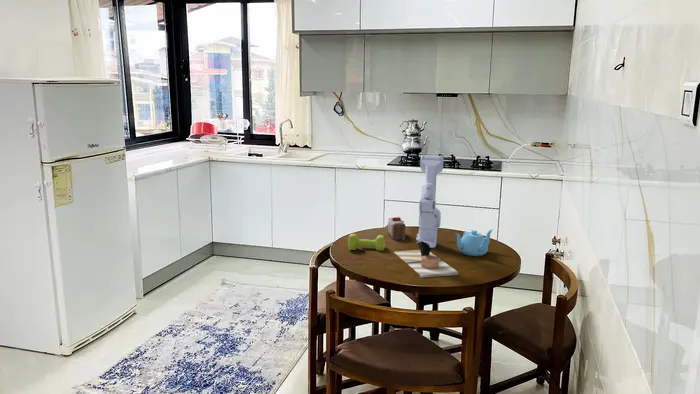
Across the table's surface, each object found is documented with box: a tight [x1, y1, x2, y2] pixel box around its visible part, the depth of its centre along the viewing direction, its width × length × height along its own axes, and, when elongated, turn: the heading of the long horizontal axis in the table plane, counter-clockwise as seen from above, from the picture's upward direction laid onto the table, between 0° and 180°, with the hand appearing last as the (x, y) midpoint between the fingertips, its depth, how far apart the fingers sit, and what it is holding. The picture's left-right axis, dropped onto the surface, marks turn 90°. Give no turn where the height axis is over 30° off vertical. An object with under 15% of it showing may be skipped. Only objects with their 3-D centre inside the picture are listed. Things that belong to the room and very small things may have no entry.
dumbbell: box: [347, 233, 386, 252], centre depth 234 cm, size 16×8×7 cm, turn 82°
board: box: [393, 249, 459, 279], centre depth 217 cm, size 31×16×1 cm, turn 15°
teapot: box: [454, 229, 493, 257], centre depth 232 cm, size 15×15×10 cm
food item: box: [387, 216, 406, 241], centre depth 257 cm, size 14×8×10 cm, turn 8°
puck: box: [421, 255, 440, 269], centre depth 211 cm, size 7×7×4 cm
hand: (424, 259), depth 216 cm, fingers closed
